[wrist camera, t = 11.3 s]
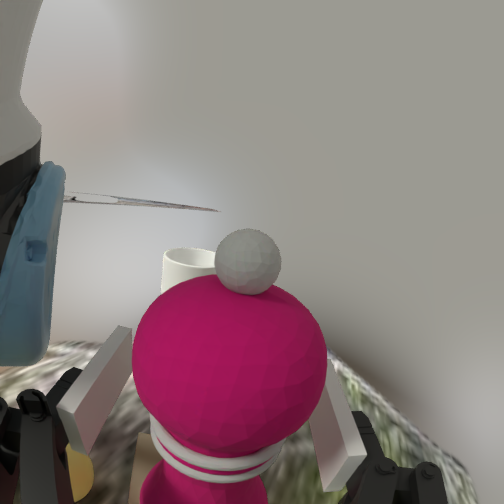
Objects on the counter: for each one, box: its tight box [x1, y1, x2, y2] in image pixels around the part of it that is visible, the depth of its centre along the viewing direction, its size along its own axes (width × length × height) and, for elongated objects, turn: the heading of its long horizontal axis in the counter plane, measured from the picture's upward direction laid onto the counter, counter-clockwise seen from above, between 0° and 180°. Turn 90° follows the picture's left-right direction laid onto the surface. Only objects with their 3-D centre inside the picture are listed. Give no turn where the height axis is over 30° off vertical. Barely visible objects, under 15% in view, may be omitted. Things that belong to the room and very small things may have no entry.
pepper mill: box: [132, 229, 327, 504], centre depth 10 cm, size 7×7×20 cm
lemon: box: [65, 443, 94, 502], centre depth 13 cm, size 6×6×6 cm
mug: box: [161, 248, 216, 294], centre depth 38 cm, size 12×8×12 cm
